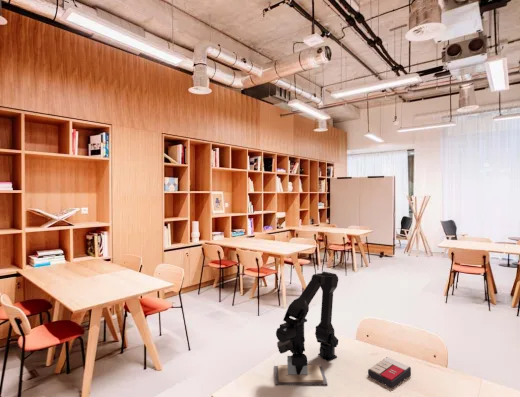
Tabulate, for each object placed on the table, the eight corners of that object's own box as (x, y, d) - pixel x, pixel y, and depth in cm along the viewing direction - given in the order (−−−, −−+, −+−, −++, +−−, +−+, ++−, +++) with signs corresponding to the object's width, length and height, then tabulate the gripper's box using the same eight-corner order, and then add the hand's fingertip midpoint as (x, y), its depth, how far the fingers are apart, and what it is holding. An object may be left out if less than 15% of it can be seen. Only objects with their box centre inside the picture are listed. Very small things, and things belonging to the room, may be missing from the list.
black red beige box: (367, 368, 133) (387, 355, 142) (367, 377, 133) (387, 364, 142) (391, 380, 124) (411, 365, 133) (392, 390, 124) (411, 375, 133)
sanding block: (306, 368, 136) (306, 355, 136) (307, 375, 131) (307, 362, 131) (287, 368, 136) (287, 355, 136) (288, 375, 131) (288, 362, 131)
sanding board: (321, 367, 139) (321, 363, 139) (327, 385, 126) (327, 381, 126) (274, 367, 140) (274, 363, 140) (275, 385, 127) (275, 381, 127)
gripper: (277, 324, 142) (277, 358, 143) (279, 344, 124) (279, 384, 124) (302, 324, 142) (302, 358, 142) (307, 345, 123) (307, 384, 124)
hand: (297, 370), depth 133 cm, fingers closed on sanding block, 5 cm apart
